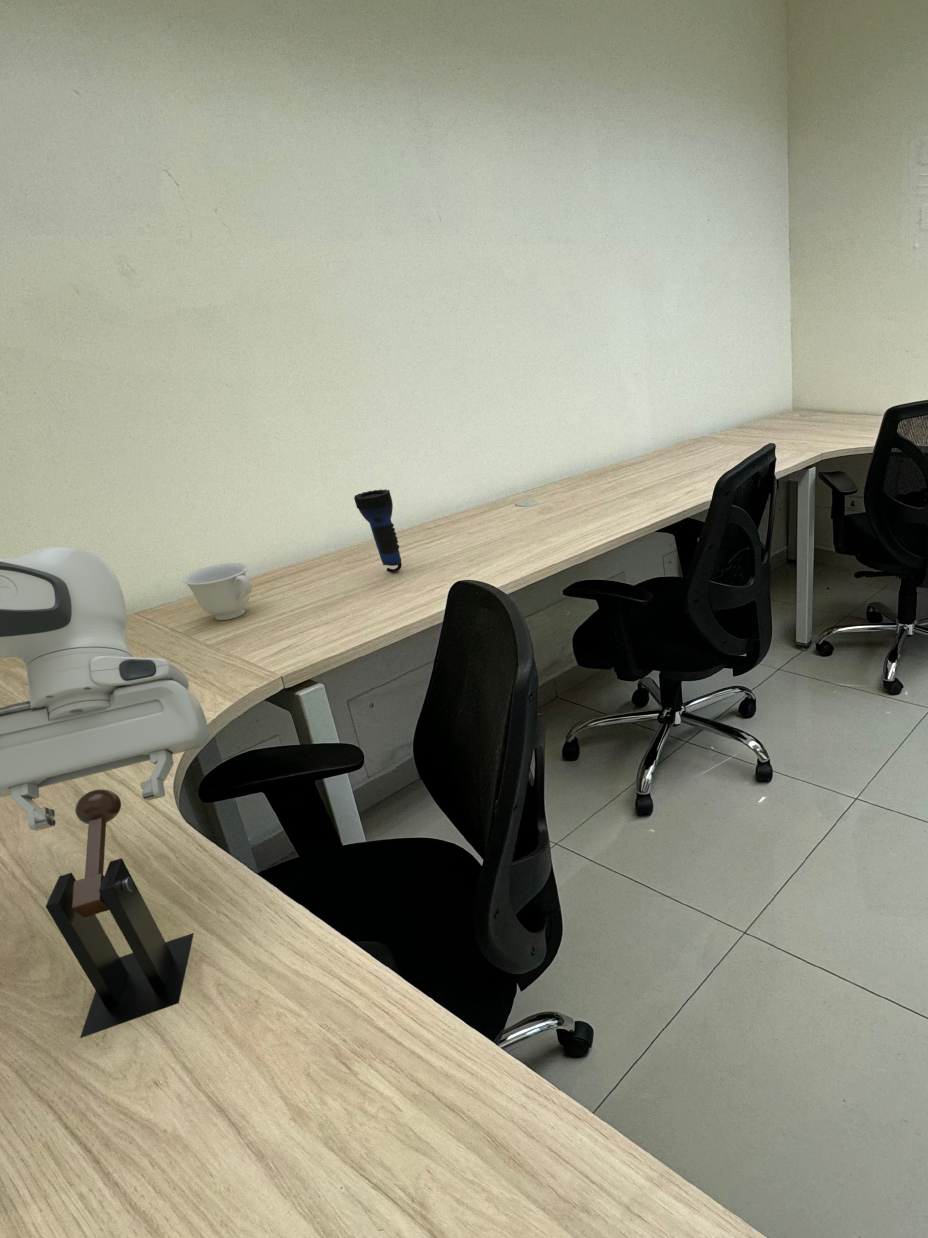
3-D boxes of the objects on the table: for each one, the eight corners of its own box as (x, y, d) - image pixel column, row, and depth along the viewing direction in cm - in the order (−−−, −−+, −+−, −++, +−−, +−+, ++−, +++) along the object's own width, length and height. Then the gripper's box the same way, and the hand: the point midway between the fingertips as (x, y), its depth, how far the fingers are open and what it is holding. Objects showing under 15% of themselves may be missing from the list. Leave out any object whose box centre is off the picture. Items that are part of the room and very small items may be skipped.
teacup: (236, 630, 160) (219, 586, 156) (185, 623, 165) (168, 580, 160) (283, 607, 170) (269, 565, 166) (234, 601, 175) (219, 561, 171)
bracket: (109, 969, 81) (48, 863, 75) (197, 940, 84) (146, 835, 78) (84, 1046, 73) (13, 934, 66) (183, 1011, 76) (123, 900, 69)
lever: (86, 806, 80) (69, 789, 77) (128, 795, 81) (112, 778, 79) (78, 923, 73) (58, 908, 70) (123, 909, 74) (106, 894, 71)
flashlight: (369, 575, 187) (346, 495, 178) (398, 564, 193) (377, 487, 184) (387, 580, 182) (365, 499, 174) (416, 570, 188) (396, 491, 180)
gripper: (-60, 707, 75) (-51, 843, 71) (183, 656, 83) (202, 776, 79) (-21, 723, 81) (-11, 850, 77) (203, 674, 89) (222, 787, 85)
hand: (99, 812), depth 78 cm, fingers open, 8 cm apart
